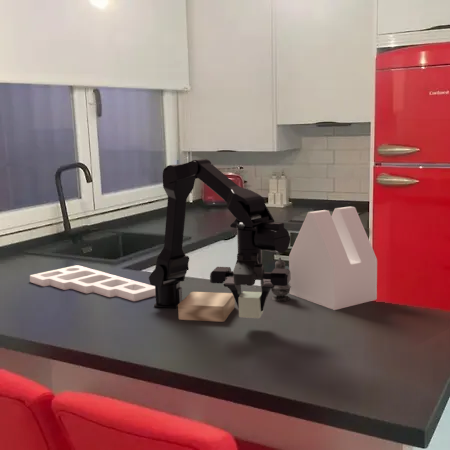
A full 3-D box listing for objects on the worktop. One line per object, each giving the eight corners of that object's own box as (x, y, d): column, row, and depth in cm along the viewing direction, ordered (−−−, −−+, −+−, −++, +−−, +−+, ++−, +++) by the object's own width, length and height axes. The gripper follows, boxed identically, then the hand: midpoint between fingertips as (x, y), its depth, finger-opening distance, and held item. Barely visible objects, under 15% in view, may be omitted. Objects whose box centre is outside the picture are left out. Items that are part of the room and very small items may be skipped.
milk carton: (376, 299, 173) (377, 210, 168) (334, 310, 165) (334, 216, 160) (330, 285, 189) (329, 203, 185) (289, 294, 181) (288, 208, 177)
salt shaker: (274, 302, 173) (273, 260, 171) (267, 296, 179) (266, 255, 176) (294, 300, 174) (293, 258, 172) (286, 294, 180) (286, 254, 178)
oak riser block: (178, 319, 161) (178, 304, 161) (192, 305, 173) (191, 291, 172) (223, 321, 158) (223, 306, 158) (234, 307, 170) (234, 293, 169)
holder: (159, 296, 185) (158, 287, 184) (107, 310, 172) (107, 301, 172) (78, 272, 217) (77, 264, 216) (29, 283, 204) (29, 275, 204)
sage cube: (239, 317, 150) (238, 297, 149) (243, 310, 155) (242, 291, 154) (259, 318, 149) (259, 298, 148) (263, 311, 154) (262, 292, 153)
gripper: (202, 253, 143) (205, 319, 146) (283, 255, 139) (284, 323, 142) (215, 243, 154) (217, 304, 157) (290, 245, 150) (291, 308, 152)
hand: (251, 310), depth 152 cm, fingers closed on sage cube, 5 cm apart
